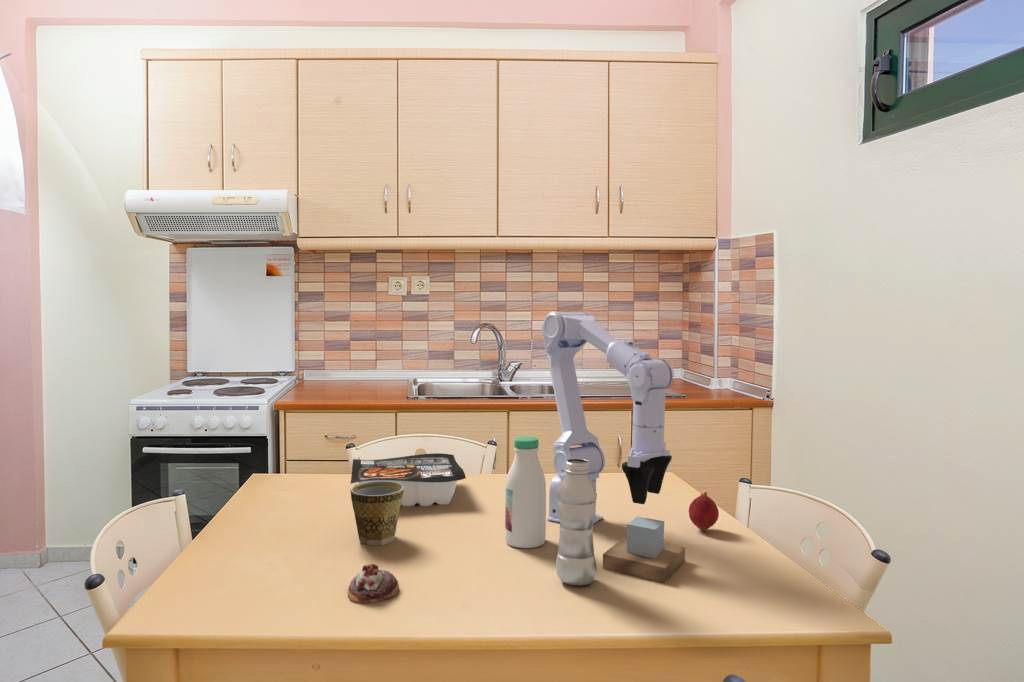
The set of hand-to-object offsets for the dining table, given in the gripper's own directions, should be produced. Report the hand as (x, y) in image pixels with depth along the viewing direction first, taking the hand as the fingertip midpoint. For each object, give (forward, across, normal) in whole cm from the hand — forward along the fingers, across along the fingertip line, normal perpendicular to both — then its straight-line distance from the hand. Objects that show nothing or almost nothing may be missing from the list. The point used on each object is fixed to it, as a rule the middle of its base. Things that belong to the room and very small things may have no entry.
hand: (646, 497), depth 120 cm
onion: (+10, +16, -6) cm, 20 cm away
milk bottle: (+10, -9, +20) cm, 25 cm away
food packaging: (+11, +1, +60) cm, 60 cm away
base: (+10, -7, -2) cm, 12 cm away
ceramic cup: (+10, -23, +46) cm, 53 cm away
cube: (+7, -7, -3) cm, 10 cm away
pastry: (+10, -41, +29) cm, 51 cm away
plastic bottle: (+10, -20, +4) cm, 23 cm away
